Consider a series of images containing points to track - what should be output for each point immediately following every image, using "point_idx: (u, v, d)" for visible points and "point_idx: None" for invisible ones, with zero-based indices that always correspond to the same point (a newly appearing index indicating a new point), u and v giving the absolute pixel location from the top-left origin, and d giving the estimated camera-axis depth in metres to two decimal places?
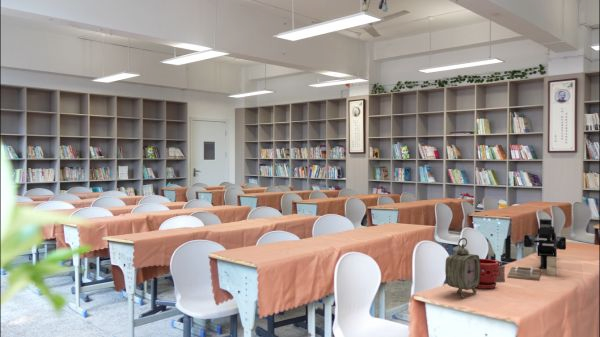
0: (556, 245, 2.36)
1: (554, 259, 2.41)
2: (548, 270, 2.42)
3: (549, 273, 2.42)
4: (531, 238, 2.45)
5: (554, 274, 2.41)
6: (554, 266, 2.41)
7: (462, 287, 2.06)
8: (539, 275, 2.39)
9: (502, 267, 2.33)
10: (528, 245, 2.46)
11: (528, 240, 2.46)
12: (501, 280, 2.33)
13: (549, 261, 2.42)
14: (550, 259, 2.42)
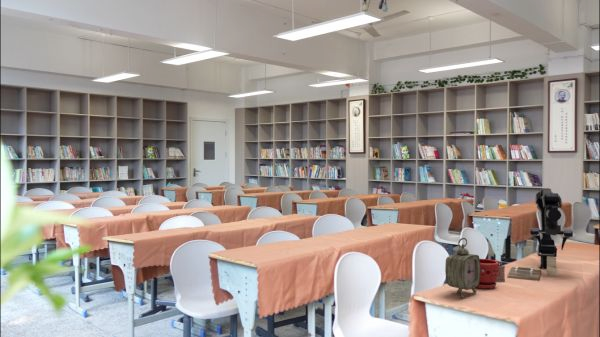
0: (563, 246, 2.41)
1: (554, 259, 2.41)
2: (548, 270, 2.42)
3: (549, 273, 2.42)
4: (538, 238, 2.44)
5: (554, 274, 2.41)
6: (554, 266, 2.41)
7: (462, 287, 2.06)
8: (539, 275, 2.39)
9: (502, 267, 2.33)
10: None
11: None
12: (501, 280, 2.33)
13: (549, 261, 2.42)
14: (550, 259, 2.42)
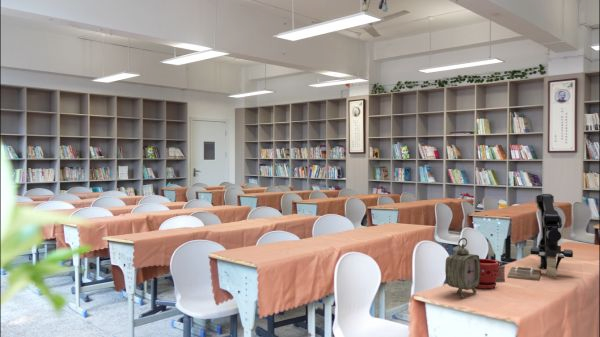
0: None
1: (554, 259, 2.41)
2: (548, 270, 2.42)
3: (549, 273, 2.42)
4: (543, 258, 2.43)
5: (554, 274, 2.41)
6: (554, 266, 2.41)
7: (462, 287, 2.06)
8: (539, 275, 2.39)
9: (502, 267, 2.33)
10: None
11: None
12: (501, 280, 2.33)
13: (549, 261, 2.42)
14: (550, 259, 2.41)
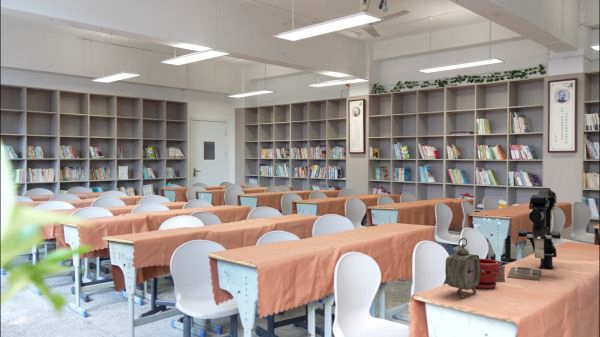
0: (546, 247, 2.42)
1: (542, 241, 2.40)
2: (536, 252, 2.42)
3: (537, 255, 2.41)
4: (531, 240, 2.43)
5: (542, 256, 2.40)
6: (542, 248, 2.40)
7: (462, 287, 2.06)
8: (539, 275, 2.39)
9: (502, 267, 2.33)
10: None
11: None
12: (501, 280, 2.33)
13: (537, 243, 2.41)
14: (538, 241, 2.41)
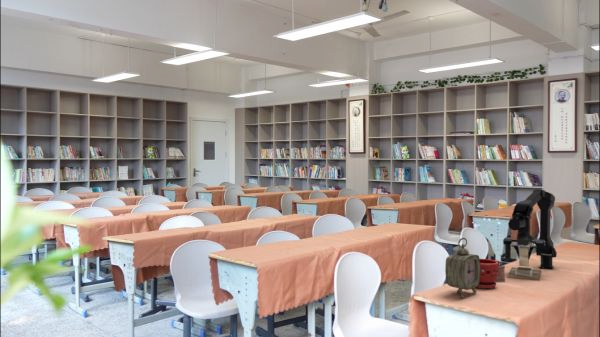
0: (530, 255, 2.42)
1: (526, 249, 2.40)
2: (520, 260, 2.42)
3: (522, 262, 2.42)
4: (516, 248, 2.43)
5: (526, 264, 2.41)
6: (526, 256, 2.40)
7: (462, 287, 2.06)
8: (539, 275, 2.39)
9: (502, 267, 2.33)
10: None
11: None
12: (501, 280, 2.33)
13: (521, 251, 2.41)
14: (522, 249, 2.41)
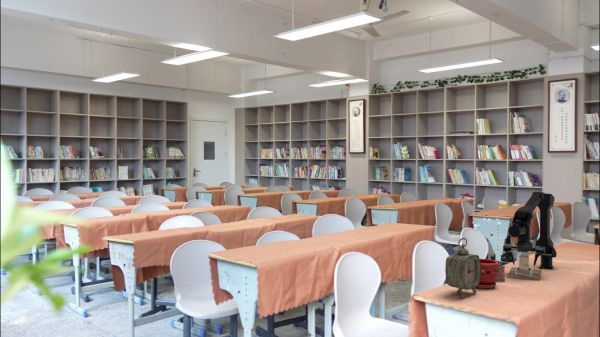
0: None
1: (526, 258, 2.40)
2: (520, 269, 2.42)
3: None
4: (510, 254, 2.44)
5: None
6: (526, 265, 2.41)
7: (462, 287, 2.06)
8: (539, 275, 2.39)
9: (502, 267, 2.33)
10: None
11: None
12: (501, 280, 2.33)
13: (521, 260, 2.42)
14: (522, 258, 2.41)
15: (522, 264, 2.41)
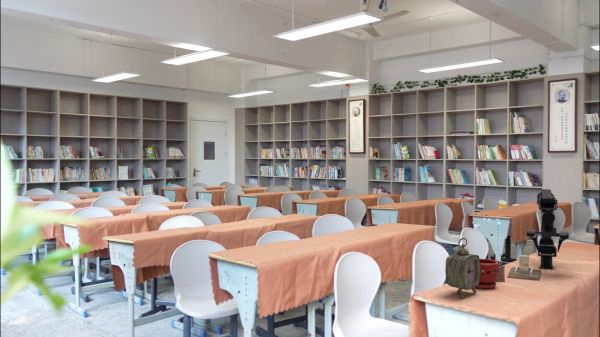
0: (559, 248, 2.42)
1: (526, 258, 2.40)
2: (520, 269, 2.42)
3: None
4: (534, 240, 2.46)
5: None
6: (526, 265, 2.41)
7: (462, 287, 2.06)
8: (539, 275, 2.39)
9: (502, 267, 2.33)
10: None
11: None
12: (501, 280, 2.33)
13: (521, 260, 2.42)
14: (522, 258, 2.41)
15: (522, 264, 2.41)
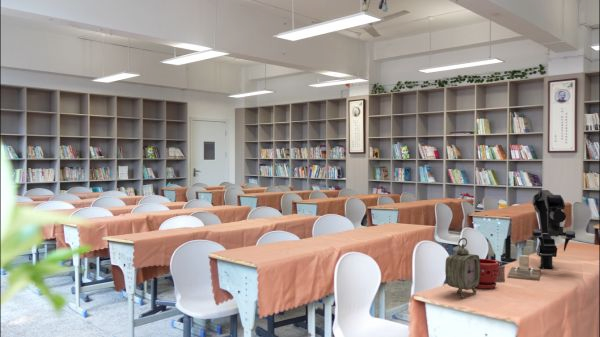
0: None
1: (526, 258, 2.40)
2: (520, 269, 2.42)
3: None
4: (540, 239, 2.46)
5: None
6: (526, 265, 2.41)
7: (462, 287, 2.06)
8: (539, 275, 2.39)
9: (502, 267, 2.33)
10: None
11: None
12: (501, 280, 2.33)
13: (521, 260, 2.42)
14: (522, 258, 2.41)
15: (522, 264, 2.41)
